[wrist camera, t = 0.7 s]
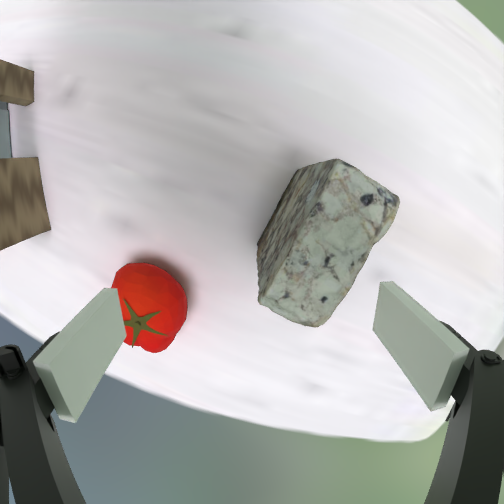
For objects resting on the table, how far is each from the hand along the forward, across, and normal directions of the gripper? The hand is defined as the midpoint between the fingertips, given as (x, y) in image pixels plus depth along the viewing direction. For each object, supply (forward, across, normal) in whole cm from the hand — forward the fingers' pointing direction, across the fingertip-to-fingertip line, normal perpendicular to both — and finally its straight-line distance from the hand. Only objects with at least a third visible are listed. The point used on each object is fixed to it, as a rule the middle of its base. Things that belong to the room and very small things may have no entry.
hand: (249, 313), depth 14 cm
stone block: (+28, +6, 0) cm, 28 cm away
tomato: (+27, -13, -11) cm, 32 cm away
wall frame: (+27, -34, +12) cm, 45 cm away
